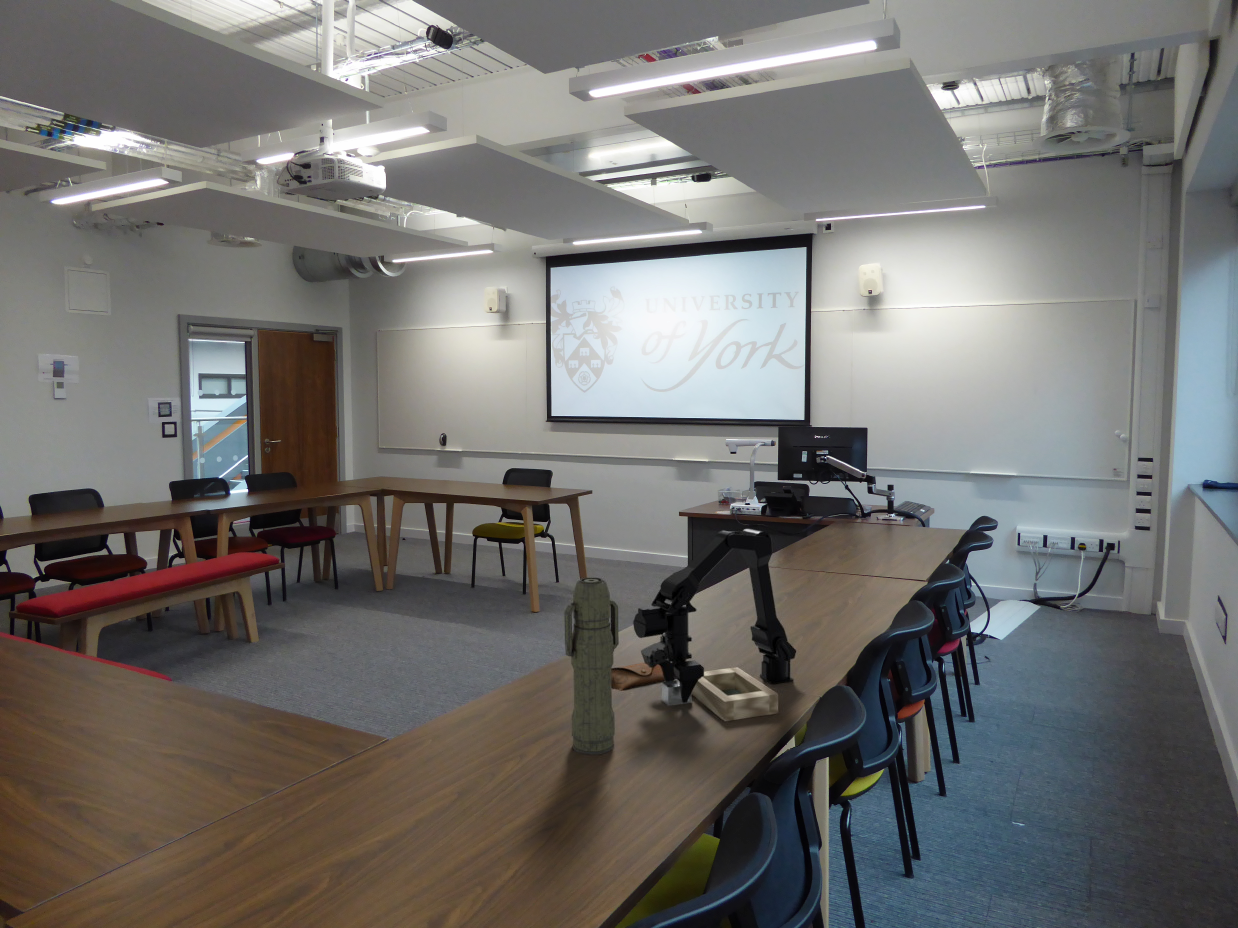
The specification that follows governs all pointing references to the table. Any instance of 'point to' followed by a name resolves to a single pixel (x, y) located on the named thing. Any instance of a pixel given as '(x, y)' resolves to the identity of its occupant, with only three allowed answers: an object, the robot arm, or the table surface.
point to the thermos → (592, 664)
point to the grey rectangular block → (672, 693)
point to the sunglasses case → (635, 676)
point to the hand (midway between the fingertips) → (676, 695)
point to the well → (735, 694)
